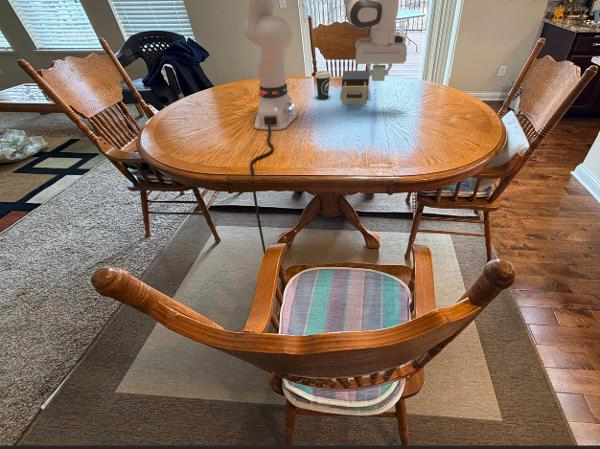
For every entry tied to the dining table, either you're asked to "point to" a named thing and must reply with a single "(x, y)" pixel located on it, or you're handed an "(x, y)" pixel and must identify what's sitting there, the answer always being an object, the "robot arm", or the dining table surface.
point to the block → (378, 72)
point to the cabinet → (355, 77)
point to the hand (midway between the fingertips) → (378, 75)
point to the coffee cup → (322, 84)
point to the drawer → (354, 92)
